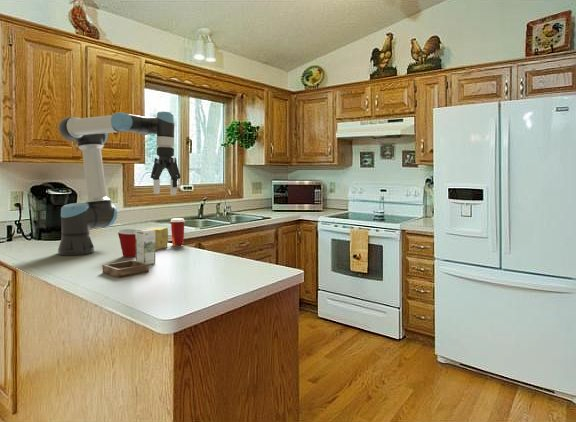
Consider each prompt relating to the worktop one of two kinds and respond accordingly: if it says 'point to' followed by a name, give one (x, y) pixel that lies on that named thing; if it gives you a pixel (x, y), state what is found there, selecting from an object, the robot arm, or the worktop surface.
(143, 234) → the syrup box
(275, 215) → the worktop surface
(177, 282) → the worktop surface
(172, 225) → the paper cup
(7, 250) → the worktop surface
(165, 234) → the cheese
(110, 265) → the tray
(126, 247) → the plastic cup
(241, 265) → the worktop surface
